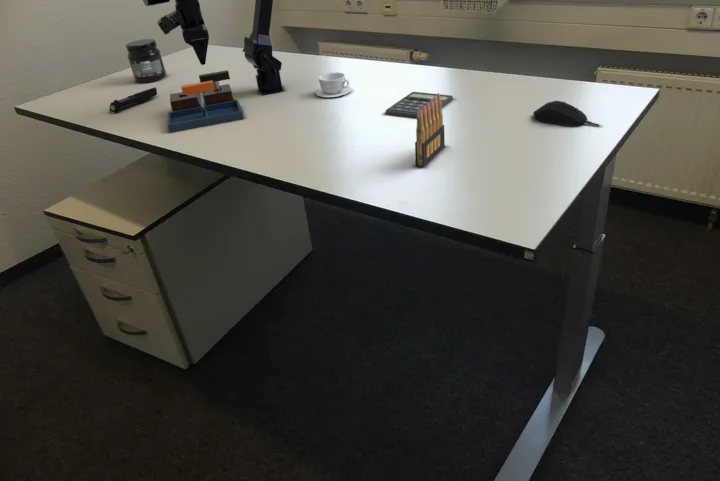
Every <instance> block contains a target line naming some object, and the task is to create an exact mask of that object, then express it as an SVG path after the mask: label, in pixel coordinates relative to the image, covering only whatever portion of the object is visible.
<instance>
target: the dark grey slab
mask: <svg viewBox="0 0 720 481" xmlns="http://www.w3.org/2000/svg"><path fill="white" fill-rule="evenodd" d="M198 78H199V83H200V82H206V81H213V85H214V89H215V91H219V90H220V86H221V85H220V82H223V81H226V80H230V79H231V77H230V73H229V70H228V69H227V70H220V71H215V72H209V73H204V74H203V73H202V74H198Z"/></svg>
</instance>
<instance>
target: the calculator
mask: <svg viewBox="0 0 720 481" xmlns="http://www.w3.org/2000/svg"><path fill="white" fill-rule="evenodd" d="M437 94H438V93H431V92H429V93H428V92H421V91H412V92H410V93H409V94H407V95H405V96H404V97H402V98H401V99H400V100H398V101H397V102H395V103H394V104H392V105H391V106H390V107H388V108H387V109H385V114H386V115H393V116H394V115H395V116H402V117H411V118H417V113H418V109H419V108H420V109H421V110H422V106H423V105H425V106H426V103H427V102H428V103H429V102H430V99H432V100H433V98H434V96H436V97H437ZM439 94H440V97H441V105H442V108H443V107H444V106H446V105H447V104H448V103H449V102H451V101H452V100H453V98H454V96H453V95H451V94H441V93H439Z"/></svg>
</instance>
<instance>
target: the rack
mask: <svg viewBox="0 0 720 481" xmlns="http://www.w3.org/2000/svg"><path fill="white" fill-rule="evenodd" d="M219 86H220V90H219V91H215V90H211V91H205V92H203V96H204V100H205V104H206V105H212V104H217V103H223V102H228V101H234V96H233V92H232V88H231V85H230V83H226V84H221V85H219ZM169 103H170V107H171V110H172V111H171V112H173V111H179V110H184V109H190V108H195V107H200V106H199V102H198V98H197V94H196V93H194V94H188V95H183V92H182V91H181V92H176V93H170V94H169Z"/></svg>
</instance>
